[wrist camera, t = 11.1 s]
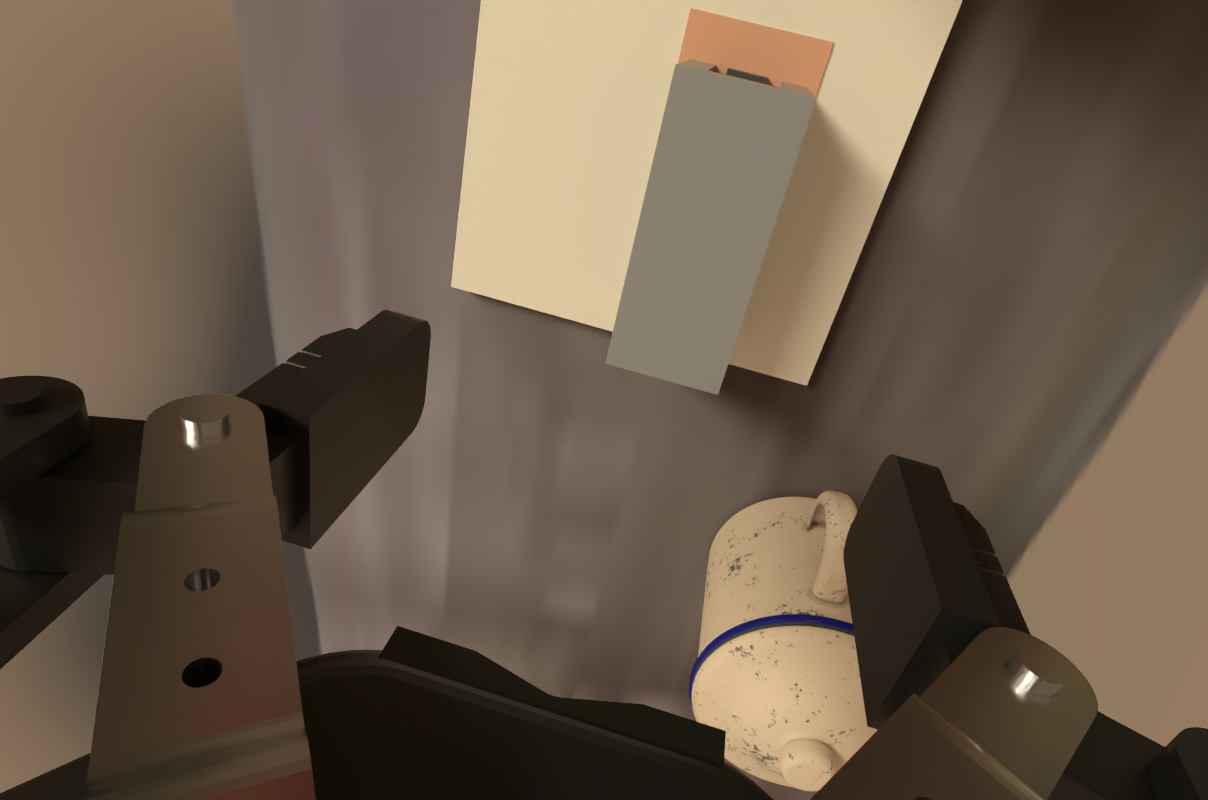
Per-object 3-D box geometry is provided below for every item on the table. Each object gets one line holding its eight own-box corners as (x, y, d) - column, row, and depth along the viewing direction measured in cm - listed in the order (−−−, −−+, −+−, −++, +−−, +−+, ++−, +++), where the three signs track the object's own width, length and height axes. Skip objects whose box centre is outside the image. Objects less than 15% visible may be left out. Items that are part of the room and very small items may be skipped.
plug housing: (690, 58, 25) (675, 64, 20) (807, 87, 24) (816, 99, 20) (628, 314, 30) (605, 363, 25) (724, 341, 29) (718, 394, 25)
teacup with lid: (863, 647, 37) (900, 880, 27) (691, 609, 38) (665, 819, 28) (937, 457, 31) (1021, 662, 21) (732, 419, 32) (717, 596, 22)
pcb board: (525, -316, 22) (514, -331, 21) (1039, -209, 21) (1052, -220, 20) (458, 289, 32) (449, 297, 31) (801, 385, 31) (802, 396, 30)
